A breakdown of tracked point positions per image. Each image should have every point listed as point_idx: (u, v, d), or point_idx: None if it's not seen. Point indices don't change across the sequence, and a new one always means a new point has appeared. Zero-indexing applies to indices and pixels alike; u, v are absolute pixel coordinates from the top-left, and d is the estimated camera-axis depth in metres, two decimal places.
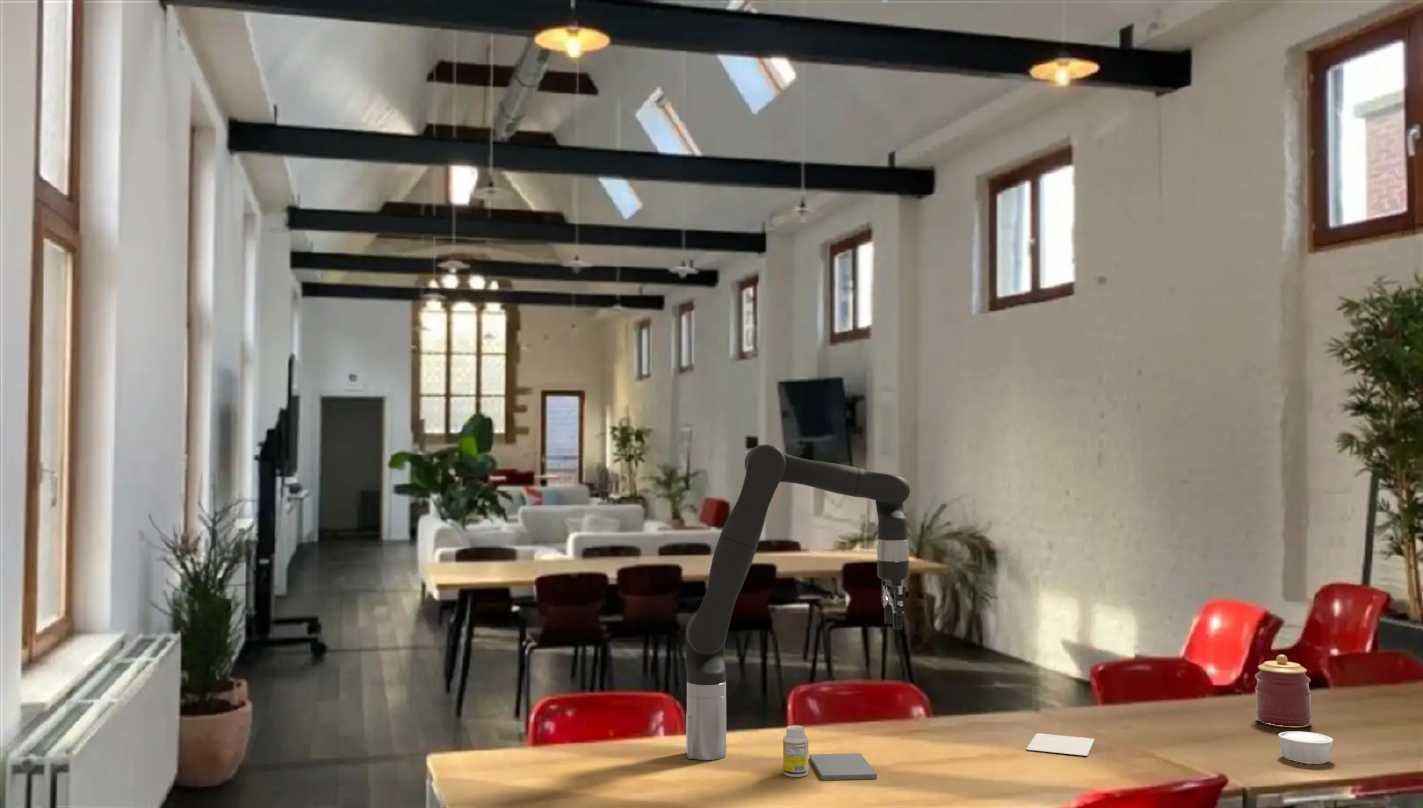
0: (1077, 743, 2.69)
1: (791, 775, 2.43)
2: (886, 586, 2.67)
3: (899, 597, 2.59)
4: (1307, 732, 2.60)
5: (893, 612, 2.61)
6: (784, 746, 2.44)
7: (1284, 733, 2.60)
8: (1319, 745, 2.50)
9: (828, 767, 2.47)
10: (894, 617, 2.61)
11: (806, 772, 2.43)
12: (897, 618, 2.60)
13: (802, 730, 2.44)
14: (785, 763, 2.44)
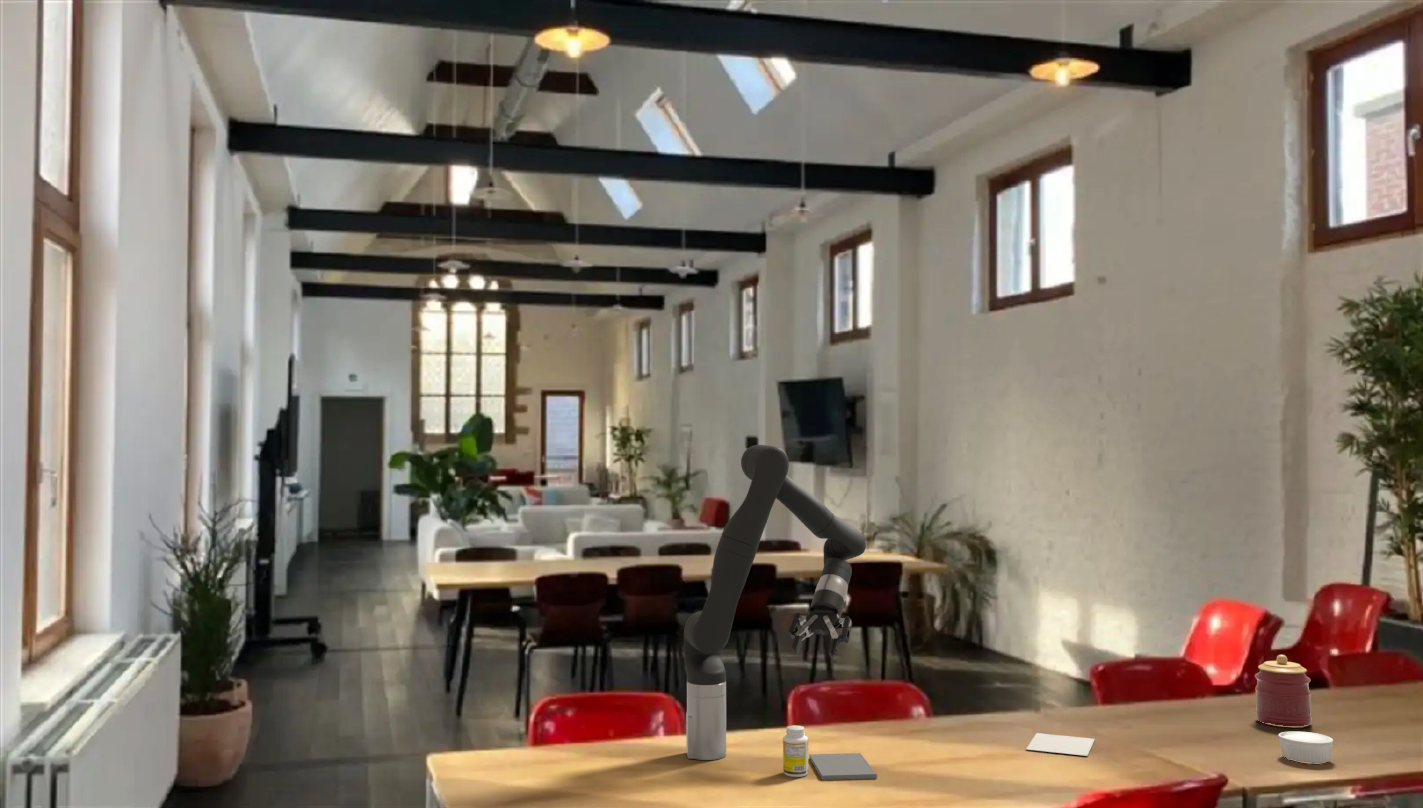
0: (1077, 743, 2.69)
1: (791, 775, 2.43)
2: (817, 616, 2.62)
3: (849, 627, 2.59)
4: (1307, 732, 2.60)
5: (835, 637, 2.56)
6: (784, 746, 2.44)
7: (1284, 733, 2.60)
8: (1319, 745, 2.50)
9: (828, 767, 2.47)
10: (833, 642, 2.56)
11: (806, 772, 2.43)
12: (837, 644, 2.56)
13: (802, 730, 2.44)
14: (785, 763, 2.44)
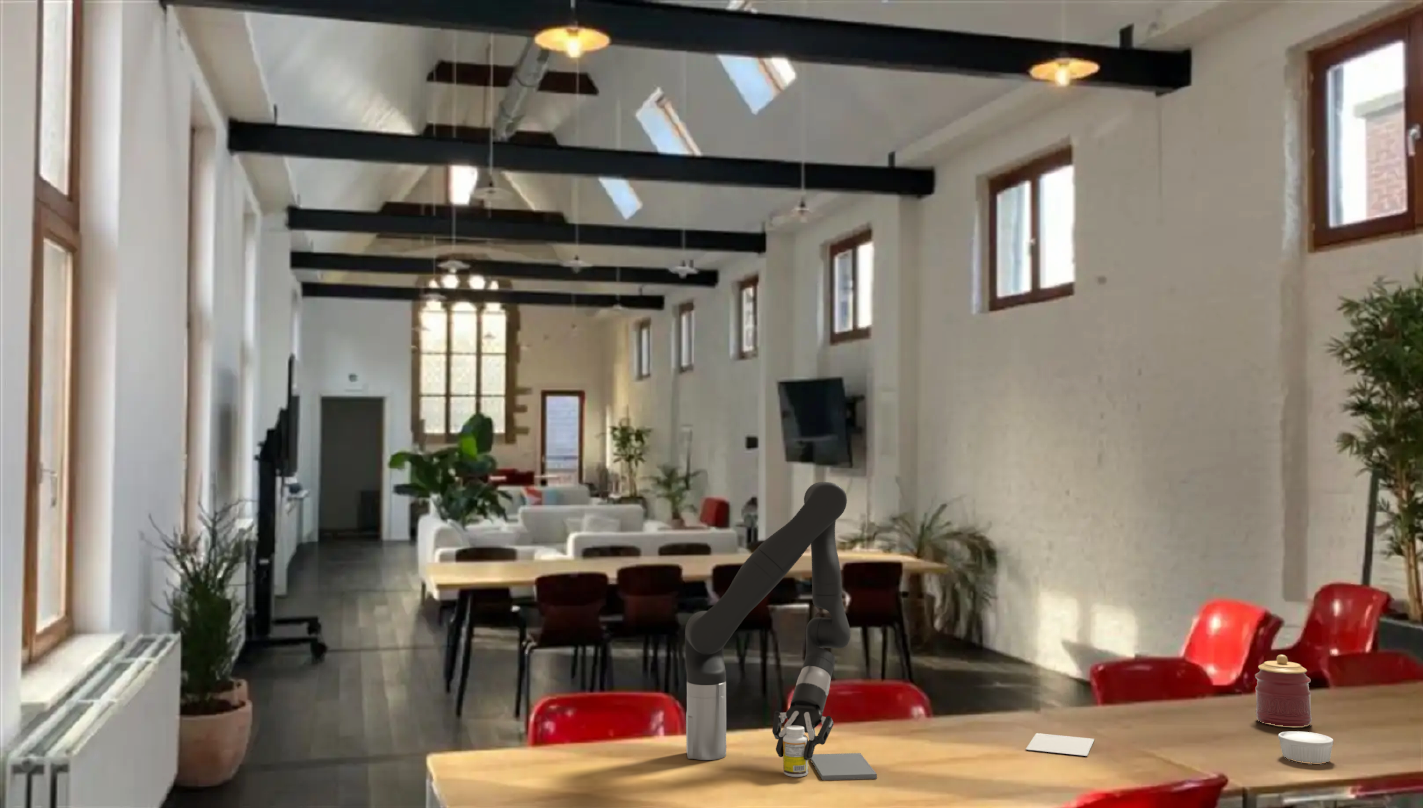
0: (1077, 743, 2.69)
1: (791, 775, 2.43)
2: None
3: (828, 728, 2.46)
4: (1307, 732, 2.60)
5: (811, 739, 2.44)
6: (784, 746, 2.44)
7: (1284, 733, 2.60)
8: (1319, 745, 2.50)
9: (828, 767, 2.47)
10: (809, 744, 2.43)
11: (806, 772, 2.43)
12: (812, 747, 2.43)
13: (802, 730, 2.44)
14: (785, 763, 2.44)
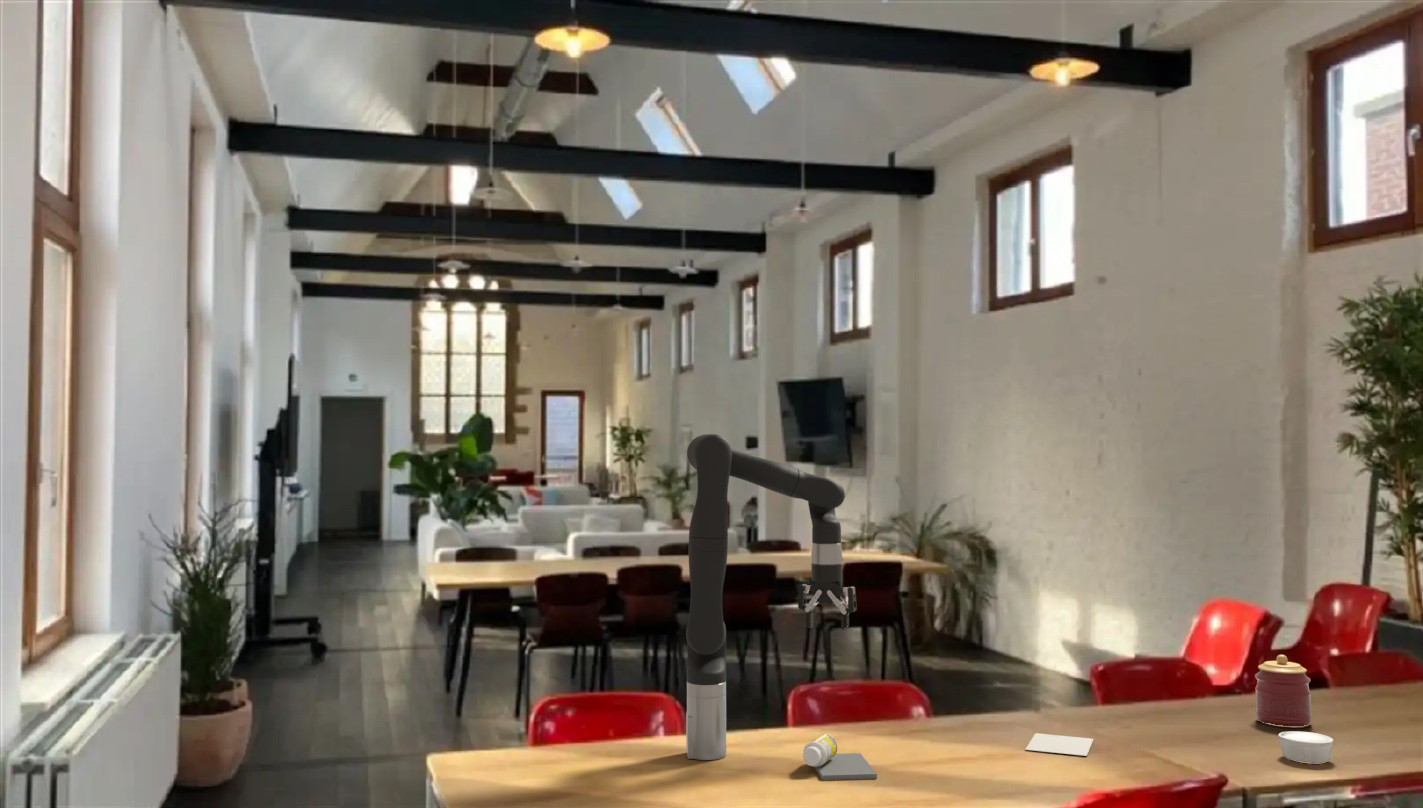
0: (1076, 743, 2.69)
1: None
2: (821, 590, 2.70)
3: (854, 598, 2.67)
4: (1307, 732, 2.60)
5: (844, 613, 2.67)
6: (826, 761, 2.48)
7: (1284, 733, 2.60)
8: (1319, 745, 2.50)
9: (828, 767, 2.47)
10: (843, 618, 2.67)
11: (826, 734, 2.54)
12: (847, 619, 2.68)
13: (813, 748, 2.45)
14: (832, 755, 2.51)
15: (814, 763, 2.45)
